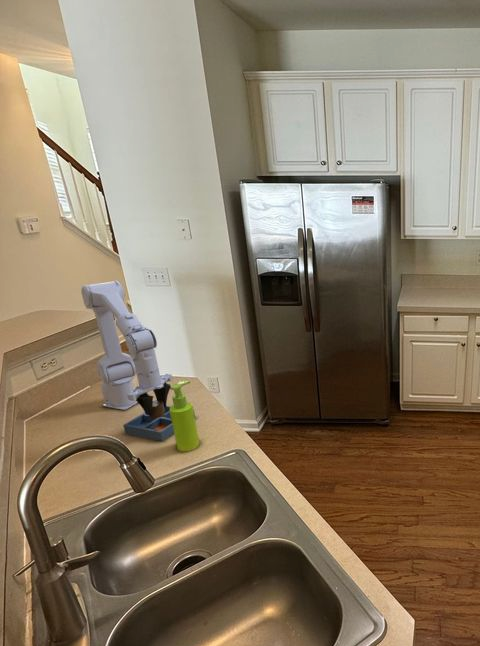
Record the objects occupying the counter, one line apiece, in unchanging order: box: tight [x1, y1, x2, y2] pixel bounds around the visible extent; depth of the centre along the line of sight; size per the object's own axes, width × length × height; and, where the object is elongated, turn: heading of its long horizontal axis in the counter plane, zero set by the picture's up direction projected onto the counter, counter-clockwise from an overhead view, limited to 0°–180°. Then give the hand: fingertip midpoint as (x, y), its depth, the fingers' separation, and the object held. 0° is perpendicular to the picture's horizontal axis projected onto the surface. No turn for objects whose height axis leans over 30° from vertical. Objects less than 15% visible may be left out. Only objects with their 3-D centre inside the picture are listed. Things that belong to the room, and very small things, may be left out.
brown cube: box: [149, 399, 165, 419], centre depth 131 cm, size 4×4×4 cm
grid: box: [123, 404, 196, 442], centre depth 137 cm, size 14×14×3 cm
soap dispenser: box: [169, 380, 200, 452], centre depth 124 cm, size 6×7×20 cm
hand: (156, 411), depth 131 cm, fingers closed on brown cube, 4 cm apart
